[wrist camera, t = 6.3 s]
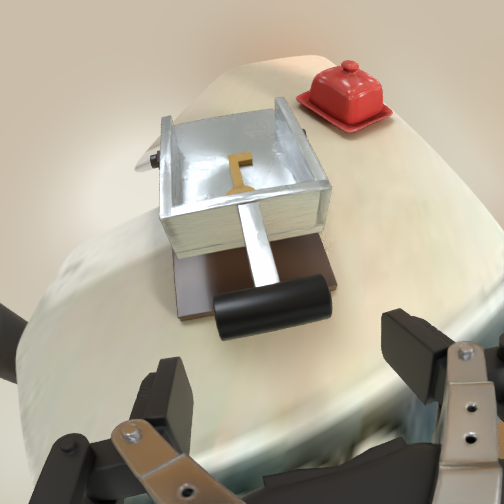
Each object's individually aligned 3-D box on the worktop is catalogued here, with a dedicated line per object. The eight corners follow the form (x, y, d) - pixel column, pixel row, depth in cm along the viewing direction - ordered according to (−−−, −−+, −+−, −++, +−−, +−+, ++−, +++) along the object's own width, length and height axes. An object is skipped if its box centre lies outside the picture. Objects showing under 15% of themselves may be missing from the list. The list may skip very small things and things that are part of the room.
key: (267, 211, 22) (266, 206, 21) (228, 218, 21) (227, 213, 21) (250, 155, 25) (250, 151, 24) (217, 161, 25) (216, 157, 24)
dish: (358, 329, 18) (384, 295, 13) (189, 365, 17) (162, 341, 13) (272, 114, 29) (272, 72, 25) (172, 132, 29) (161, 90, 25)
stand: (335, 290, 28) (357, 234, 20) (180, 321, 27) (147, 275, 20) (297, 188, 34) (302, 124, 27) (172, 211, 34) (150, 151, 26)
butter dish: (346, 141, 39) (355, 86, 31) (291, 104, 44) (292, 55, 37) (395, 119, 42) (406, 72, 34) (342, 87, 47) (347, 43, 40)
